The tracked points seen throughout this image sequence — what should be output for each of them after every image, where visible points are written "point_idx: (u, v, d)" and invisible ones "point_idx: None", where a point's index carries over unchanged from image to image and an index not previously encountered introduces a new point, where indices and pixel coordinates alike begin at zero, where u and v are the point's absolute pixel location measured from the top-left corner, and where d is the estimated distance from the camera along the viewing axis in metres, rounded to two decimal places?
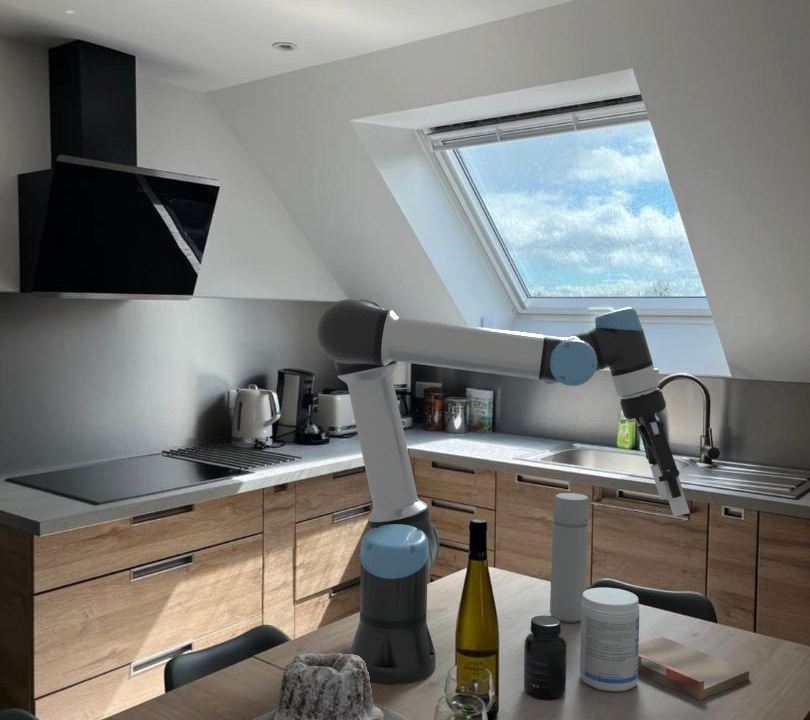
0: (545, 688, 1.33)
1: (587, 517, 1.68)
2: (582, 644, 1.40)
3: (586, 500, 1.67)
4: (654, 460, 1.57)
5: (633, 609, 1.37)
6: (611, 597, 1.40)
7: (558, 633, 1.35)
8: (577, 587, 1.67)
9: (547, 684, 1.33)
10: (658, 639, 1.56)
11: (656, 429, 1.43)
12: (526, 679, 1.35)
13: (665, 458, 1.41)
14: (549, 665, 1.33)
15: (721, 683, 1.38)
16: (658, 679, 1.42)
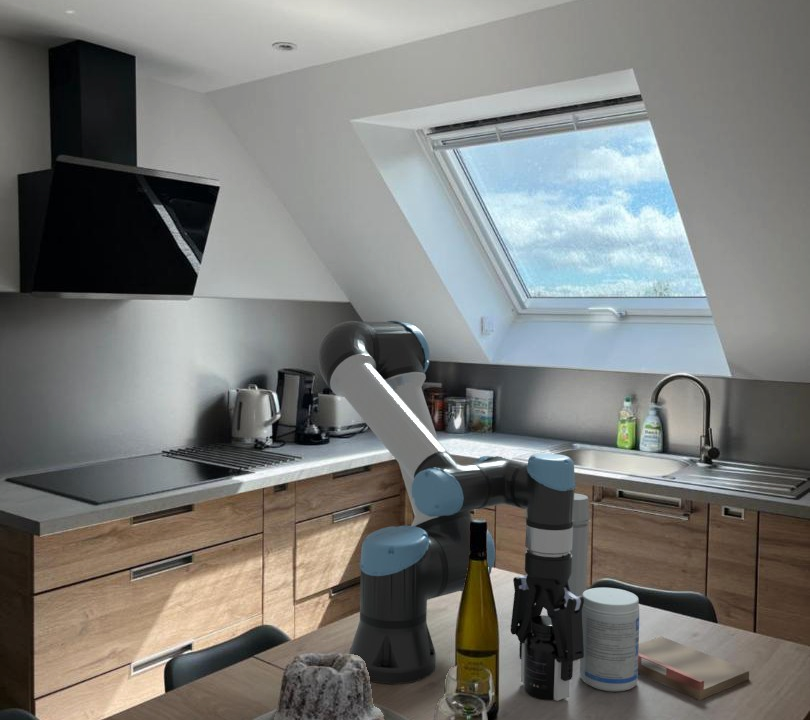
0: (545, 688, 1.33)
1: (587, 517, 1.68)
2: None
3: (586, 500, 1.68)
4: (526, 636, 1.40)
5: (633, 609, 1.37)
6: (611, 597, 1.40)
7: None
8: (577, 587, 1.67)
9: (547, 684, 1.33)
10: (658, 639, 1.56)
11: (578, 606, 1.31)
12: (526, 679, 1.35)
13: (577, 639, 1.31)
14: (549, 665, 1.33)
15: (721, 683, 1.38)
16: (658, 679, 1.42)
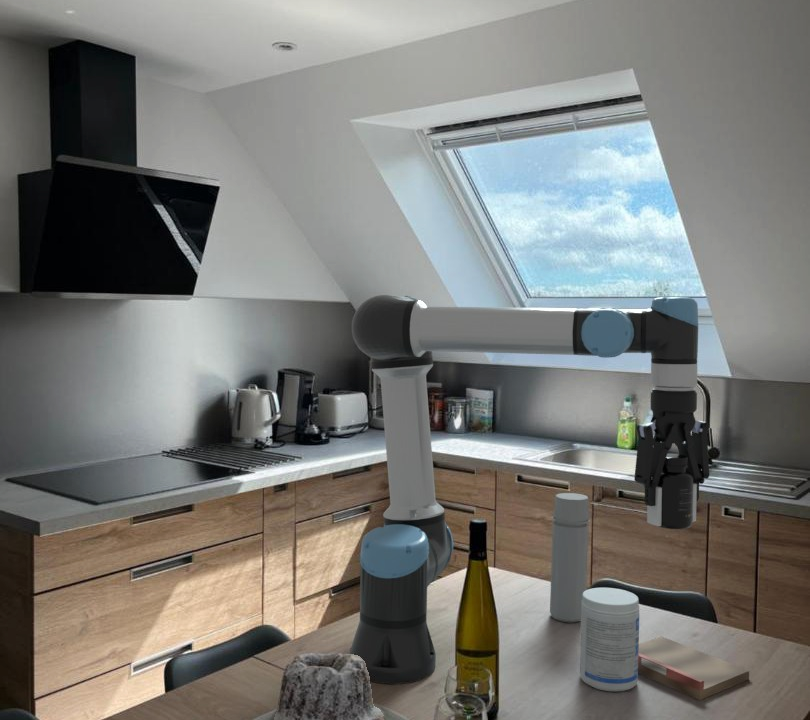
0: (692, 514, 1.42)
1: (587, 517, 1.68)
2: (582, 644, 1.40)
3: (586, 500, 1.68)
4: None
5: (633, 609, 1.37)
6: (611, 597, 1.40)
7: None
8: (577, 587, 1.67)
9: None
10: (658, 639, 1.56)
11: None
12: (681, 514, 1.40)
13: None
14: None
15: (721, 683, 1.38)
16: (658, 679, 1.42)
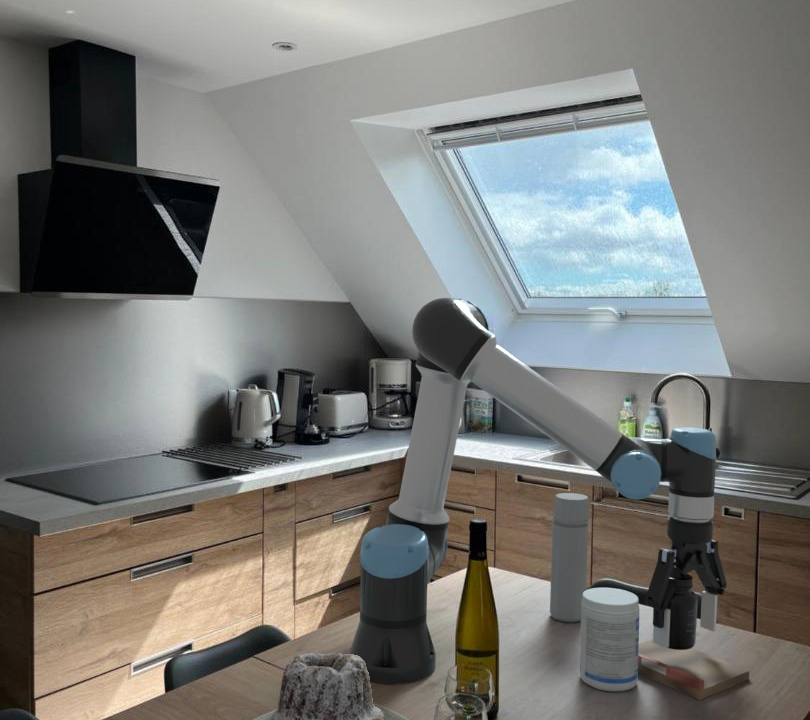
0: None
1: (587, 517, 1.68)
2: (582, 644, 1.40)
3: (586, 500, 1.67)
4: None
5: (633, 609, 1.37)
6: (611, 597, 1.40)
7: None
8: (577, 587, 1.67)
9: None
10: None
11: None
12: (688, 635, 1.42)
13: None
14: None
15: (721, 683, 1.38)
16: (658, 679, 1.42)
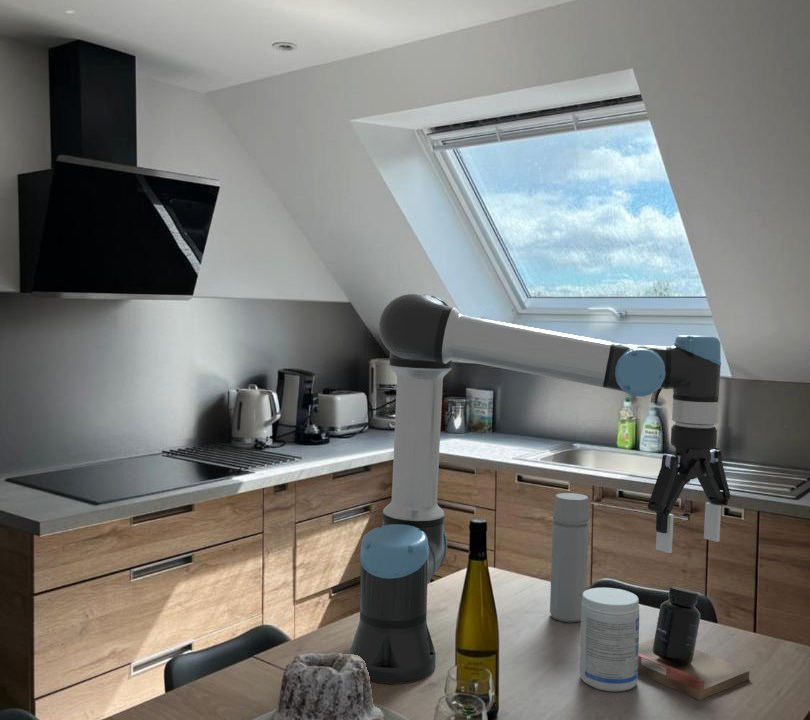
0: None
1: (587, 517, 1.68)
2: (582, 644, 1.40)
3: (586, 500, 1.68)
4: None
5: (633, 609, 1.37)
6: (611, 597, 1.40)
7: None
8: (577, 587, 1.67)
9: None
10: None
11: None
12: (687, 649, 1.43)
13: None
14: None
15: (721, 683, 1.38)
16: (658, 679, 1.42)
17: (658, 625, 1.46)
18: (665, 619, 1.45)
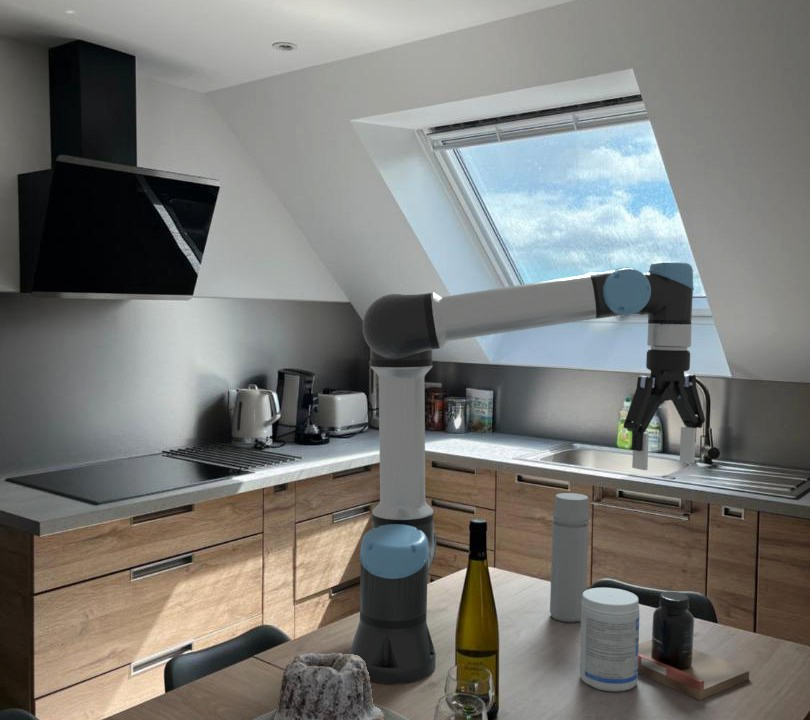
0: None
1: (587, 517, 1.68)
2: (582, 644, 1.40)
3: (586, 500, 1.67)
4: None
5: (633, 609, 1.37)
6: (611, 597, 1.40)
7: None
8: (577, 587, 1.67)
9: None
10: None
11: None
12: (684, 656, 1.42)
13: None
14: None
15: (721, 683, 1.38)
16: (658, 679, 1.42)
17: (653, 634, 1.45)
18: (658, 629, 1.44)
